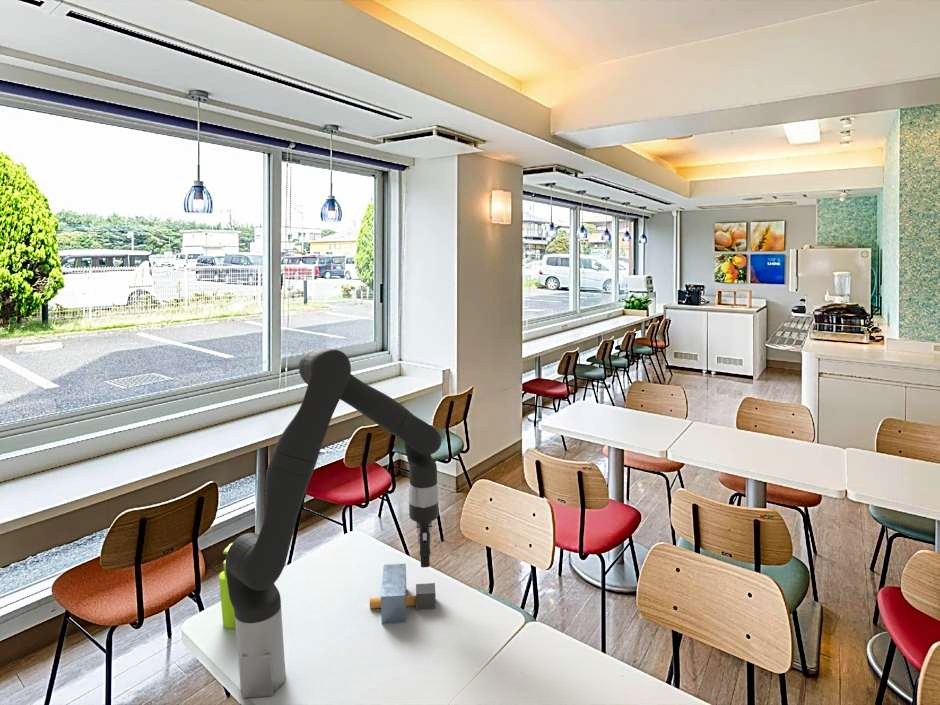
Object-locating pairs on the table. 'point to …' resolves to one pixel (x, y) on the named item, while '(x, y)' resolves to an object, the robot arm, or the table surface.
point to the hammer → (415, 598)
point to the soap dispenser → (226, 598)
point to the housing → (393, 594)
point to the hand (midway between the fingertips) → (424, 557)
